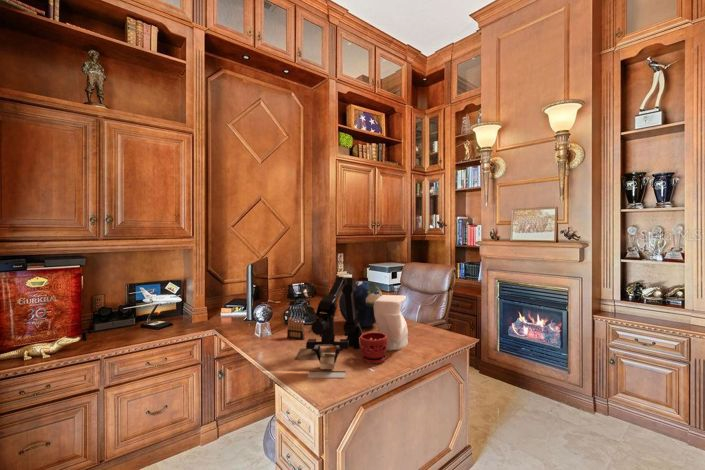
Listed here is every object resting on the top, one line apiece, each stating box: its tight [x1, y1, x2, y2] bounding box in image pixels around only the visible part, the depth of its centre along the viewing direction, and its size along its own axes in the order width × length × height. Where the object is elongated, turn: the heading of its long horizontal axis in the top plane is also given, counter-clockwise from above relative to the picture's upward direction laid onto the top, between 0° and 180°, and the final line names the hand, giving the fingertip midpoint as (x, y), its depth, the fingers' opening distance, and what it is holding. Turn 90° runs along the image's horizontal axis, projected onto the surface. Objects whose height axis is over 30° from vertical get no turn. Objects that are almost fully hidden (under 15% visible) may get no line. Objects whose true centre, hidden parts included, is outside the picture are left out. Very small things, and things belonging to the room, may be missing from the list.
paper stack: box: [374, 294, 409, 351], centre depth 179 cm, size 21×27×26 cm
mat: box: [307, 370, 347, 379], centre depth 147 cm, size 16×14×1 cm
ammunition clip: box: [286, 317, 305, 341], centre depth 192 cm, size 11×2×12 cm, turn 69°
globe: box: [338, 280, 384, 328], centre depth 217 cm, size 30×30×30 cm
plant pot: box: [359, 331, 387, 364], centre depth 160 cm, size 13×13×12 cm
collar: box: [319, 352, 336, 370], centre depth 147 cm, size 6×6×5 cm
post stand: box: [294, 347, 331, 361], centre depth 165 cm, size 16×16×7 cm
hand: (327, 362), depth 147 cm, fingers closed on collar, 6 cm apart
